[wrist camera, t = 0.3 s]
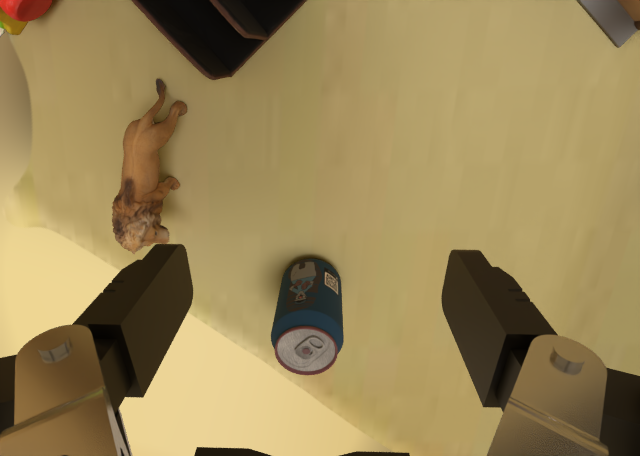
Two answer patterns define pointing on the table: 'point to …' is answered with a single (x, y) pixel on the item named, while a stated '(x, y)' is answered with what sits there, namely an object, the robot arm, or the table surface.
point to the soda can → (308, 318)
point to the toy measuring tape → (20, 13)
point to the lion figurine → (144, 179)
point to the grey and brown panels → (615, 17)
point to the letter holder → (218, 29)
